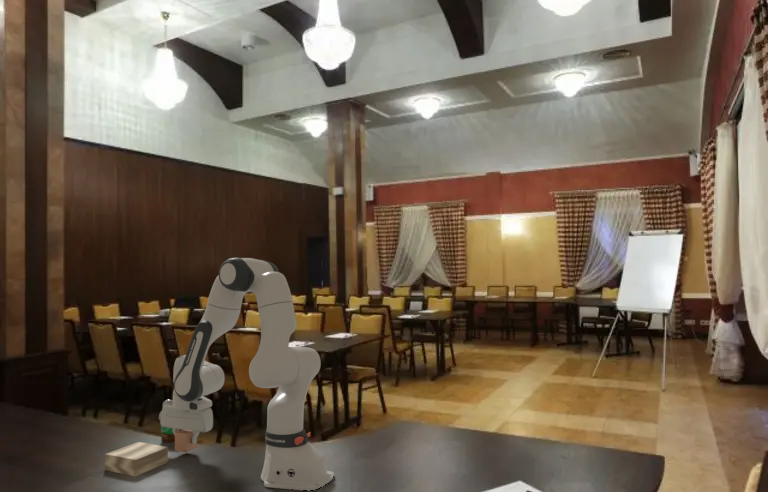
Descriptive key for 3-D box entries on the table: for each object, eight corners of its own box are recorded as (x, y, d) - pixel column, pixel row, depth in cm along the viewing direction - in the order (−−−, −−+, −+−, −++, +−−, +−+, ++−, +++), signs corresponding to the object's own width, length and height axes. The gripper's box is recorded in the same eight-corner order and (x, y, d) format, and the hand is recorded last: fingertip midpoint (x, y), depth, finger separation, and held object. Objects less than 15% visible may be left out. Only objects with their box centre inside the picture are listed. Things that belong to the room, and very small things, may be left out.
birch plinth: (167, 462, 176) (167, 447, 176) (135, 476, 164) (135, 459, 164) (137, 456, 180) (138, 441, 181) (104, 470, 168) (105, 453, 169)
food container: (150, 440, 198) (151, 412, 199) (164, 435, 204) (165, 409, 204) (173, 445, 192) (174, 417, 193) (187, 440, 198) (188, 413, 198)
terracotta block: (196, 447, 185) (196, 430, 185) (186, 452, 180) (186, 434, 180) (185, 446, 187) (185, 428, 187) (174, 450, 182) (175, 432, 182)
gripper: (156, 400, 185) (155, 441, 184) (203, 406, 177) (202, 448, 177) (170, 396, 191) (169, 436, 190) (216, 401, 183) (215, 442, 183)
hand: (185, 442), depth 183 cm, fingers closed on terracotta block, 5 cm apart
